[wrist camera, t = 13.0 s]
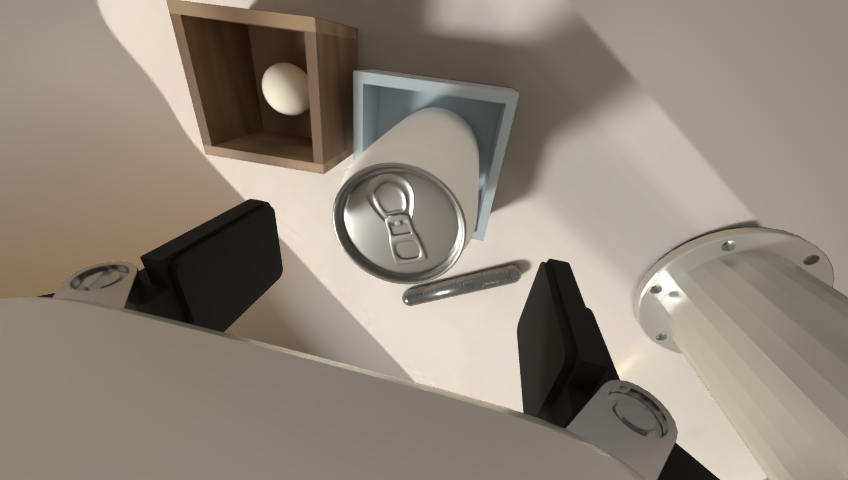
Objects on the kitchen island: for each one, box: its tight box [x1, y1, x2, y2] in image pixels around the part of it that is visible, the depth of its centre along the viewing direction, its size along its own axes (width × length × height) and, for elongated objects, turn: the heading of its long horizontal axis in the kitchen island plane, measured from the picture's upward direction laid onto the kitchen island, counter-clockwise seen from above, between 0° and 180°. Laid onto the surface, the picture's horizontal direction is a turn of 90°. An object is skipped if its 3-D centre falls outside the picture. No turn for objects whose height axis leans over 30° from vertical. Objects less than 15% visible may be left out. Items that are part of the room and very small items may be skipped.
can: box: [333, 107, 479, 284], centre depth 18 cm, size 6×6×12 cm
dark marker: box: [402, 265, 521, 306], centre depth 29 cm, size 12×2×2 cm, turn 113°
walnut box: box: [166, 0, 357, 174], centre depth 20 cm, size 8×8×6 cm
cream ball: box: [262, 63, 310, 116], centre depth 21 cm, size 3×3×3 cm
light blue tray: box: [353, 69, 520, 241], centre depth 22 cm, size 10×10×4 cm
